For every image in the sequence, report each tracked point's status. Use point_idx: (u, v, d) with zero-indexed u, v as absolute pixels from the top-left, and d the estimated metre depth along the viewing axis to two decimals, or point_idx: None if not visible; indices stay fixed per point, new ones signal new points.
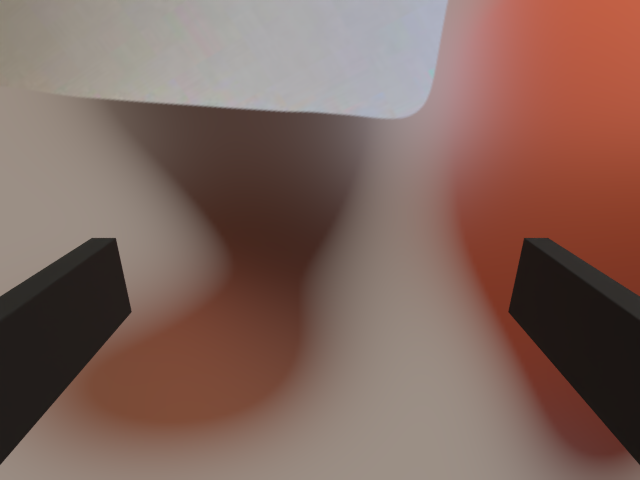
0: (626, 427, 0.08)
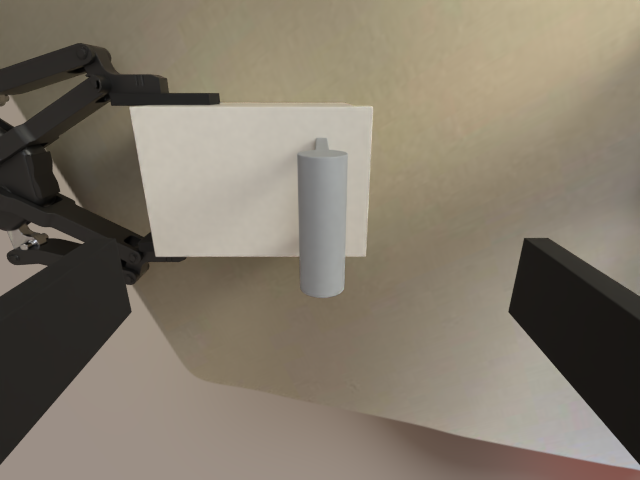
0: (626, 427, 0.08)
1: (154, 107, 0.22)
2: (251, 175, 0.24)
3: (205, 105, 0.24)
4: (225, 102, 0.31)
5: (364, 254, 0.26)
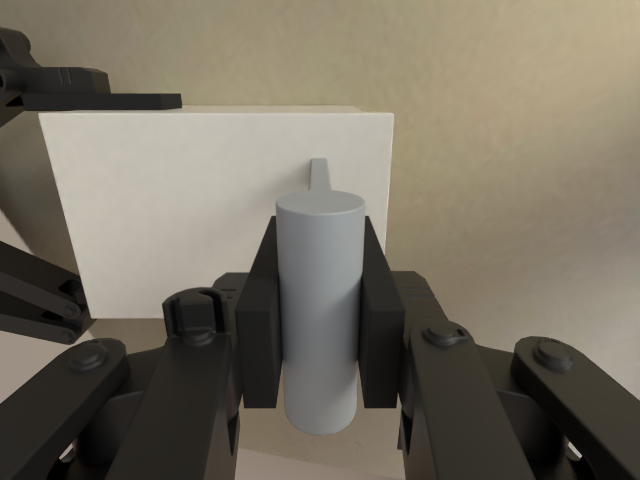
0: (359, 355, 0.10)
1: (75, 114, 0.15)
2: (219, 210, 0.17)
3: None
4: (195, 105, 0.24)
5: None
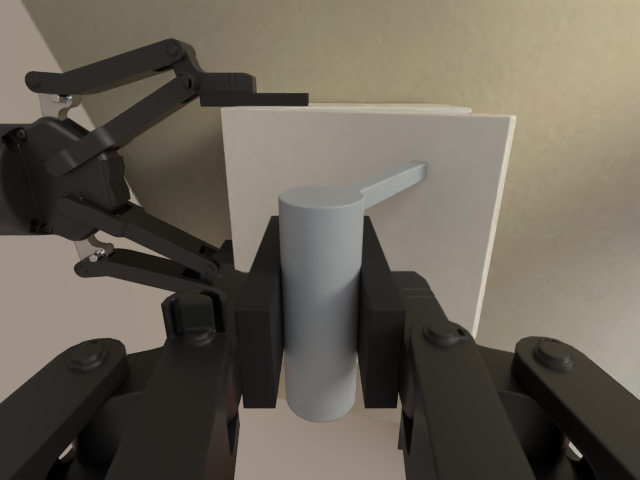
0: (360, 355, 0.10)
1: (240, 109, 0.20)
2: None
3: (301, 106, 0.22)
4: None
5: None
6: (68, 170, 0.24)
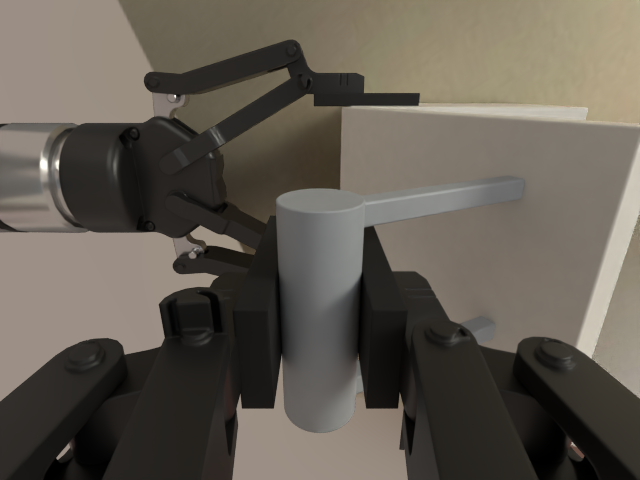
0: (360, 355, 0.10)
1: (356, 109, 0.20)
2: None
3: (417, 106, 0.22)
4: None
5: None
6: (181, 169, 0.24)
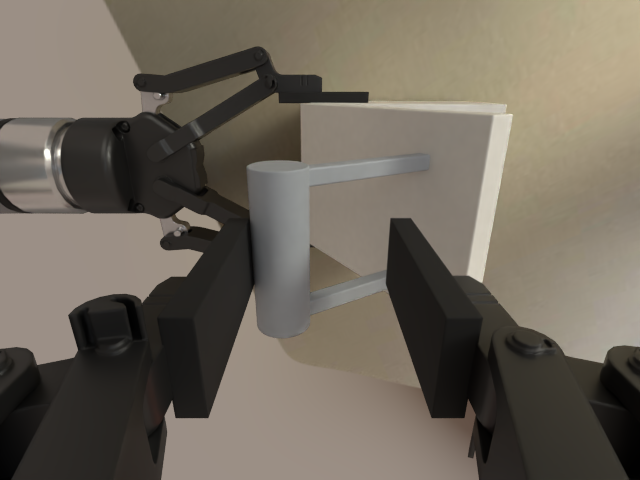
0: (419, 362, 0.10)
1: (312, 105, 0.24)
2: (361, 184, 0.21)
3: None
4: None
5: None
6: (165, 157, 0.28)
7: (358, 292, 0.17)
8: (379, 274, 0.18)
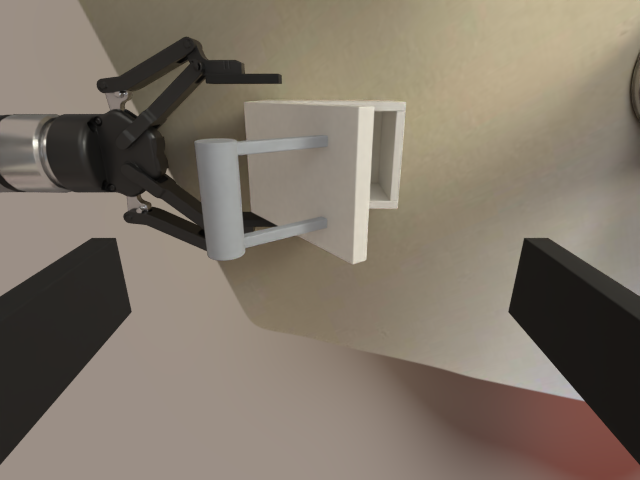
0: (627, 428, 0.08)
1: (252, 102, 0.31)
2: (288, 162, 0.28)
3: None
4: None
5: (351, 261, 0.25)
6: (130, 144, 0.35)
7: (281, 234, 0.24)
8: (298, 223, 0.25)
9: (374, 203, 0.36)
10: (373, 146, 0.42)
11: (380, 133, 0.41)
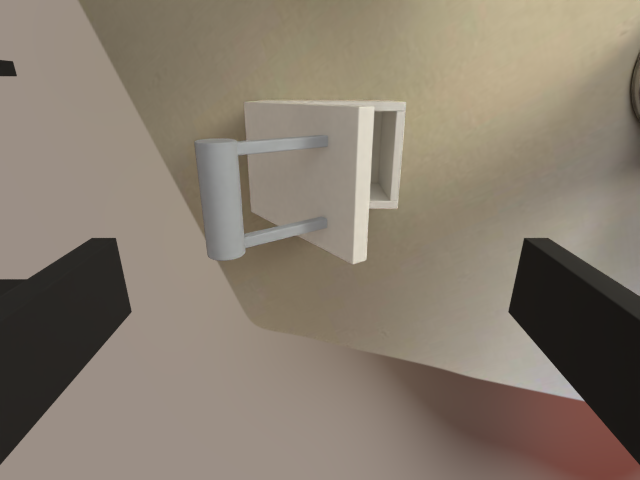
0: (627, 428, 0.08)
1: (252, 102, 0.31)
2: (288, 161, 0.28)
3: None
4: None
5: (351, 261, 0.25)
6: None
7: (281, 234, 0.24)
8: (298, 223, 0.25)
9: (374, 203, 0.36)
10: (373, 146, 0.42)
11: (380, 133, 0.41)
